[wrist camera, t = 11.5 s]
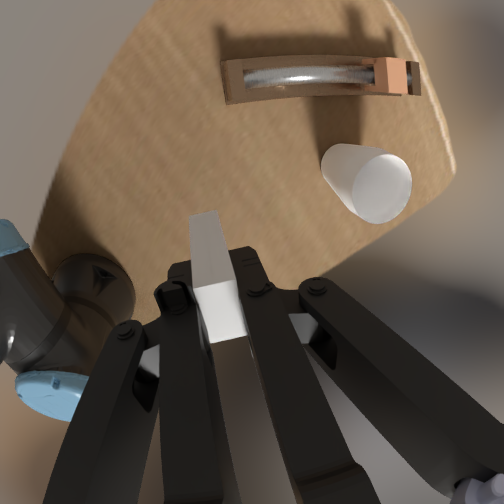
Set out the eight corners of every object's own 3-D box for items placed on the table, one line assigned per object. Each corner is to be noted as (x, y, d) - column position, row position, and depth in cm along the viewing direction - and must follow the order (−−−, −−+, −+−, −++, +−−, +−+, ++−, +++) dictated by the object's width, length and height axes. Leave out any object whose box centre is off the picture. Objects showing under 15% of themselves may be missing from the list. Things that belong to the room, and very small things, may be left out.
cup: (324, 126, 40) (368, 141, 29) (373, 147, 42) (422, 168, 32) (304, 184, 43) (339, 215, 33) (353, 199, 46) (395, 232, 36)
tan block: (364, 90, 35) (388, 92, 30) (362, 59, 32) (386, 57, 27) (382, 91, 35) (407, 94, 30) (380, 60, 33) (405, 59, 28)
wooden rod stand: (226, 104, 36) (231, 106, 31) (220, 62, 33) (224, 56, 28) (399, 95, 38) (422, 99, 34) (396, 60, 35) (419, 59, 31)
